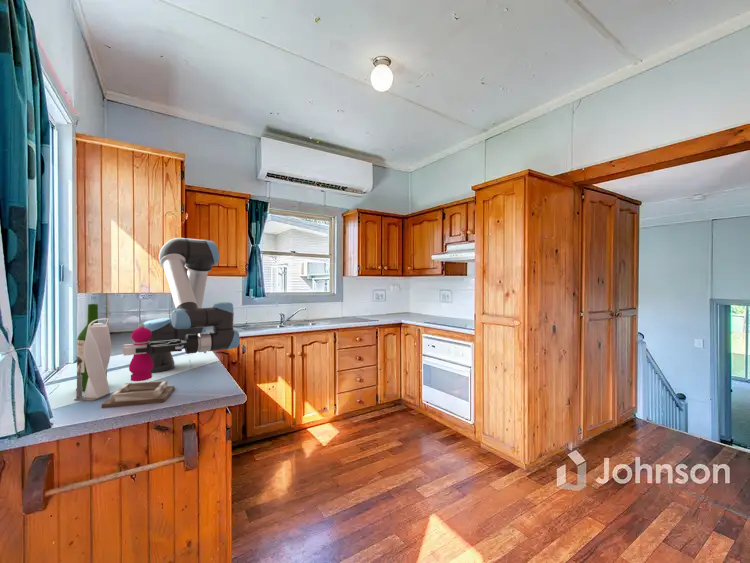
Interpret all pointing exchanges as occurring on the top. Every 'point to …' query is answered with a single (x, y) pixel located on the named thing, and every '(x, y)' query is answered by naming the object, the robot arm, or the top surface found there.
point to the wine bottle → (81, 342)
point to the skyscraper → (95, 362)
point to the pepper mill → (141, 355)
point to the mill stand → (139, 394)
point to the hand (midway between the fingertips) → (123, 350)
